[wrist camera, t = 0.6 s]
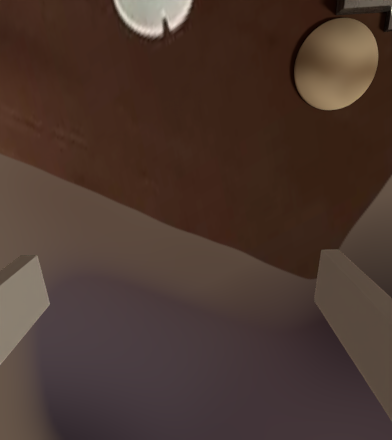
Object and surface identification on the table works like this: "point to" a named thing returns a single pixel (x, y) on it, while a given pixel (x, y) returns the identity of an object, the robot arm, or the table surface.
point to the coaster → (336, 64)
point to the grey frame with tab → (366, 9)
